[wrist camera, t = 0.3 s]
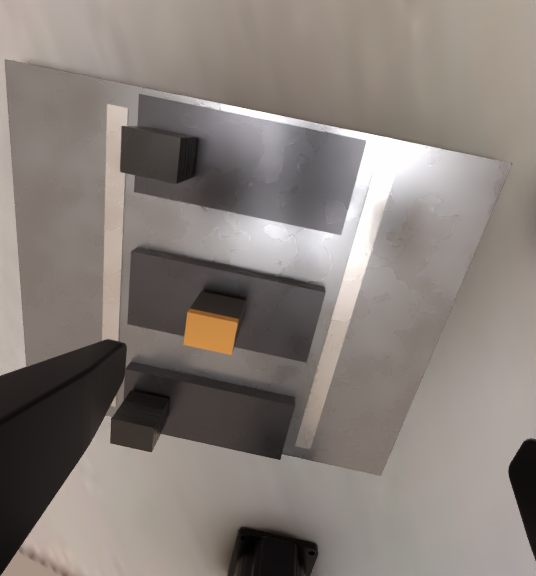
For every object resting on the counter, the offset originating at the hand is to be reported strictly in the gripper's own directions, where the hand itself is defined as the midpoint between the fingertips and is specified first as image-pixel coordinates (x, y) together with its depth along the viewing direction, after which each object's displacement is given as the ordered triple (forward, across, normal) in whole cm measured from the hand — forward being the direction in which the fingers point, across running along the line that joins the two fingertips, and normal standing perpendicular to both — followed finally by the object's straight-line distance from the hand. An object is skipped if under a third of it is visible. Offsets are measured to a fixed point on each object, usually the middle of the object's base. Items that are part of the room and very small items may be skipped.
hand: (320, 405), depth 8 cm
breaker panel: (+14, +4, +4) cm, 15 cm away
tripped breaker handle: (+11, +4, +4) cm, 13 cm away
